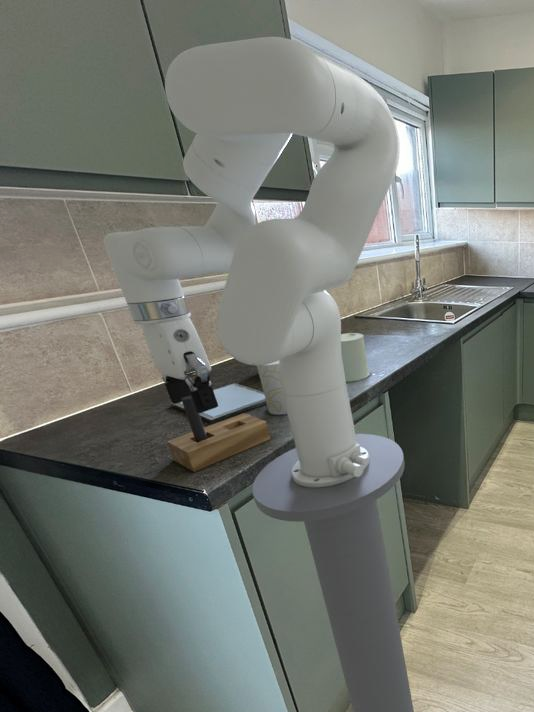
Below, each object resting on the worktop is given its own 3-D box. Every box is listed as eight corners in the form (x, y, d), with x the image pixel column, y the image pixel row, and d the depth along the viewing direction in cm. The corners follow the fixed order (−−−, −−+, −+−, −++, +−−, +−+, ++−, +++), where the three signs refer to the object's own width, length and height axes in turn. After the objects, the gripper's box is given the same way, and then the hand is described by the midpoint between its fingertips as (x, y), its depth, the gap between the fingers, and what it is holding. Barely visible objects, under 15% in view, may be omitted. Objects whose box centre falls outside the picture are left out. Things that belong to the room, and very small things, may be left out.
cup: (260, 413, 96) (247, 364, 92) (286, 399, 104) (274, 353, 99) (290, 415, 94) (278, 365, 90) (314, 401, 102) (303, 354, 97)
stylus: (214, 454, 79) (195, 396, 75) (204, 459, 77) (183, 400, 73) (209, 452, 80) (190, 395, 75) (199, 456, 78) (179, 398, 74)
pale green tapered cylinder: (376, 371, 121) (369, 331, 117) (357, 383, 113) (350, 340, 109) (348, 370, 124) (341, 330, 119) (328, 380, 115) (320, 339, 111)
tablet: (277, 399, 104) (276, 395, 103) (211, 423, 92) (210, 419, 91) (235, 386, 114) (234, 382, 113) (171, 406, 102) (170, 402, 101)
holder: (270, 438, 84) (266, 421, 83) (194, 472, 73) (187, 452, 72) (249, 429, 88) (244, 412, 87) (173, 460, 77) (166, 441, 76)
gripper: (210, 308, 67) (241, 405, 73) (165, 304, 76) (196, 391, 82) (154, 318, 61) (193, 422, 67) (112, 312, 70) (150, 405, 76)
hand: (195, 405), depth 75 cm, fingers open, 9 cm apart
